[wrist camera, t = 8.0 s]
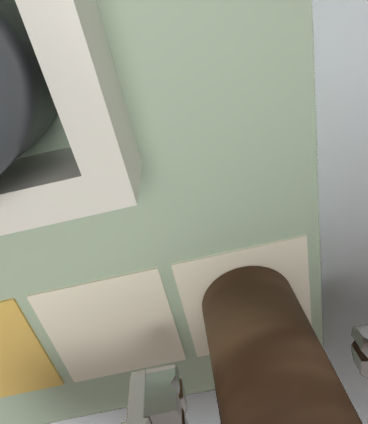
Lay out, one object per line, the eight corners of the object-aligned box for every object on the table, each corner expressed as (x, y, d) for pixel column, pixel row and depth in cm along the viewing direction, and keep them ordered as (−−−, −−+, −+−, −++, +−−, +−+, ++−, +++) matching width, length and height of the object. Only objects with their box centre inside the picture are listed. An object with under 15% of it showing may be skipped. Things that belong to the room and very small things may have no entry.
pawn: (291, 258, 13) (459, 544, 6) (292, 326, 14) (422, 611, 7) (195, 275, 13) (245, 579, 6) (208, 341, 14) (257, 638, 7)
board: (284, -269, 8) (304, -314, 7) (315, 349, 17) (324, 369, 16) (-423, -77, 8) (-502, -92, 7) (-18, 417, 17) (-29, 440, 16)
